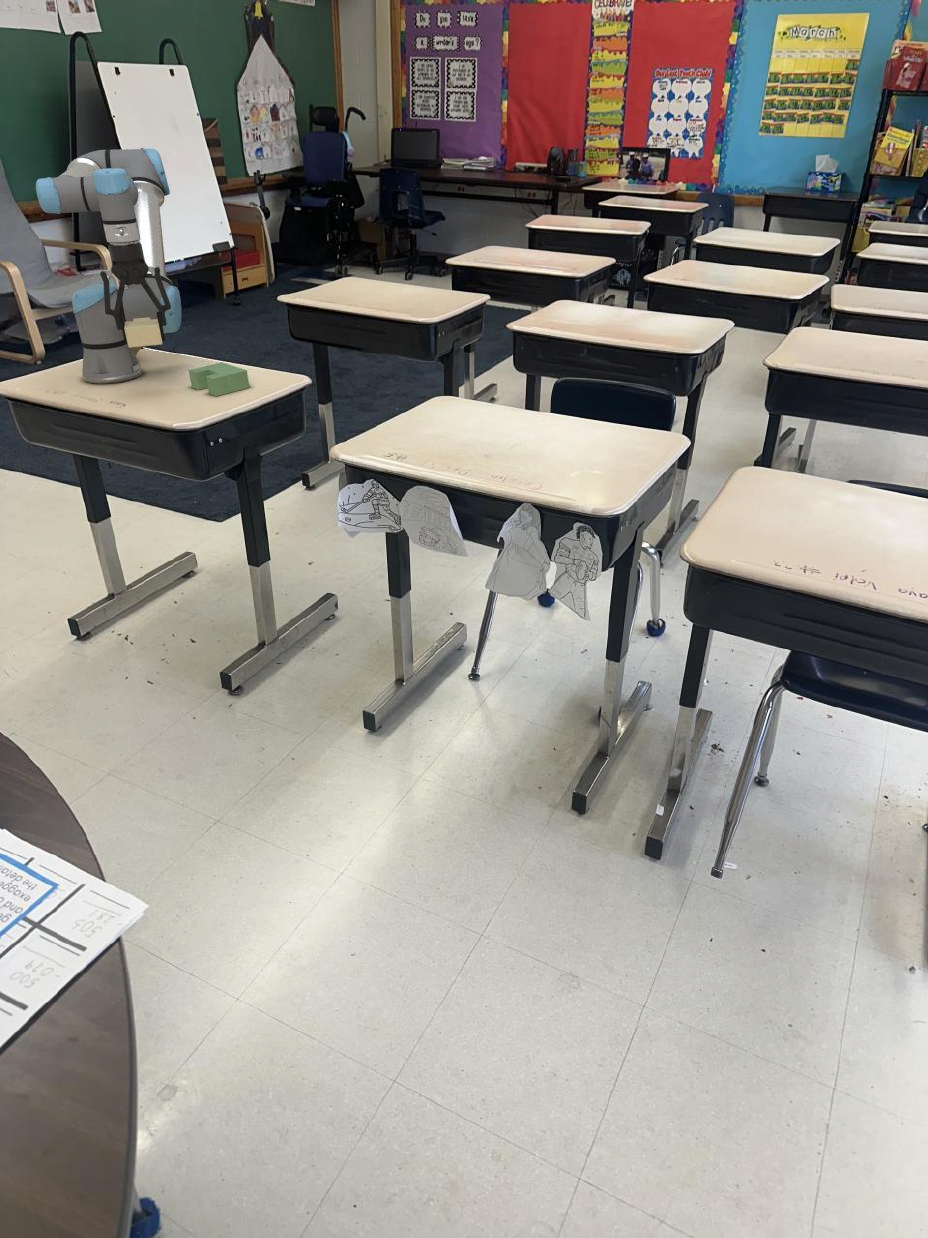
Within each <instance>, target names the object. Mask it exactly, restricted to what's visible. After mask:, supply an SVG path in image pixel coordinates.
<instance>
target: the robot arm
mask: <svg viewBox="0 0 928 1238" xmlns="http://www.w3.org/2000/svg"><path fill="white" fill-rule="evenodd" d="M35 192H36V196H37V200H38V203H39V206H40V208H41V209H42V211H43V212H45V213H47V214H57V215H61V214H69V213H70V214H71V213H87V212H90V213H91V212H92V213H93V212H100V215H101V219H102V225H103V229H104V234H105V239H106V242H107V243H108V247H107V248H108V252H109V256H110V261H111V266H110V268H109V269H101V270H100V273H99V274H100V277H101V279H102V282H103V283H100V284H95V285H91V286H87V287H84V288H81V289H79V290H76V291H75V292H73V294H72V295H71V303H72V309H73V311H72V312H73V314H74V317H75V321H76V325H77V329H78V333H79V336H80V340H81V345H82V349H83V351H82V352H81V356H82V357H83V358H82V371H81V372H82V373H81V374H82V377H83V381H85V382H87V383H90V384H97V385H99V384H100V385H103V384H104V385H105V384H107V385H108V384H116V383H117V384H118V383H123V382H128V381H131V380H134V379H136V378H139V377H140V376H142V374H143V370H142V369H143V368H142V366H141V363H140V362H139V360H138V357H137V355H136V356H135V355H134V353H133V351H132V349H131V347H128V343H127V338H126V334H125V329H124V328H125V322H129V321H133V319H136V318H147V317H150V320H152V319H158V323H159V328H160V333H161V338H162V342H165V341H166V337H165V335H166V334H170V333H175V332H177V331H178V330H179V329H180V327H181V324H182V300H181V296H180V295H181V294H180V290H179V289H178V287H177V286H174V284H173V282H172V280H171V279H169V278H168V277H167V269H166V259H165V249H164V241H163V239H164V238H163V230H162V229H163V228H162V218H161V217H162V216H161V207H162V206H163V205H164V203H165V197H166V196H169V195H170V194H171V190H170V187H169V182H168V179H167V175H166V171H165V168H164V164H163V160H162V157H161V154H160V152H159V151H158V150H157V149H155V148H144V147H140V148H133V149H132V148H128V149H127V148H126V149H98V150H93V151H90V152H87V153H85V154H82V155H81V156H80V155H79V157H76V158H74V159H73V160H71V161H70V163H69V164H68V166H67V167H66V170H65V171H64V172H62V173H61V174H60V175H59V176H57V177H50V176H47V177H44V178H38V179H37V180H36V182H35ZM112 275H113V276H115V278H117V280H118V281H119V286H118V287H117V285H116V284H115V283H114V282H113V283H112V282H111V283H110V280H111V279H112ZM126 286H127V288H126ZM107 465H108V468H109V469H110V470H111V469H112V464H111V463H110V462H107Z"/></svg>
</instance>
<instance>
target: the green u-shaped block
mask: <svg viewBox="0 0 928 1238" xmlns="http://www.w3.org/2000/svg"><path fill="white" fill-rule="evenodd" d="M188 374H189V375H188V376H189V379H190V380H189V381H190V385H191V388H193V389H195V390H203V389H206V388H207V390H208V394H209V395H211V396H214V397H219V396H222V395H227V394H230V393H235V392H237V391H241V390H245V389H249V388H250V380H249V376H248V375H249V374H248V370H247V369H244V368H242V367H238V366H235V365H232V364H228V363H226V362H222V361H221V362H218V363H217V362H216V363H213V364H209V365H204V366H200V367H196V368H192V369H188Z"/></svg>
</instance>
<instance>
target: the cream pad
mask: <svg viewBox="0 0 928 1238" xmlns="http://www.w3.org/2000/svg"><path fill="white" fill-rule="evenodd" d="M124 329H125V334H126V338H127V343H128V347H140V346H142V347H149V346H150V347H151V346H161V345H163V341H162V338H161V333H160V328H159V323H158V319H152V320H150V317H147V318H136V319H133V321H129V322H125V328H124Z"/></svg>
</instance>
